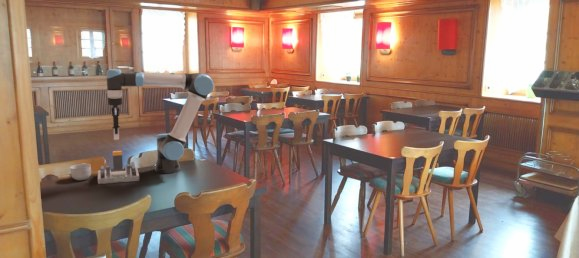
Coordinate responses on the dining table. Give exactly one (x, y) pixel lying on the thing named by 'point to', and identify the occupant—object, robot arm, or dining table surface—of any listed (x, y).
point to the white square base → (131, 169)
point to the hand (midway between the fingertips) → (116, 139)
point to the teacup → (81, 171)
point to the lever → (117, 161)
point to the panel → (117, 175)
